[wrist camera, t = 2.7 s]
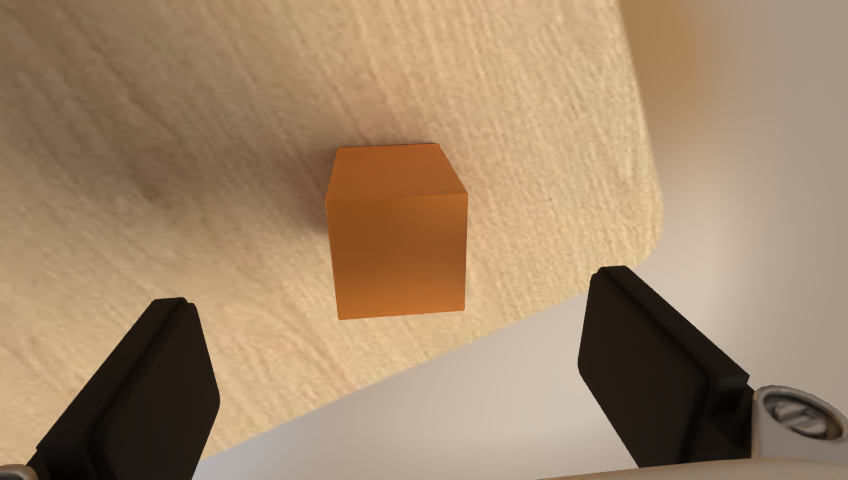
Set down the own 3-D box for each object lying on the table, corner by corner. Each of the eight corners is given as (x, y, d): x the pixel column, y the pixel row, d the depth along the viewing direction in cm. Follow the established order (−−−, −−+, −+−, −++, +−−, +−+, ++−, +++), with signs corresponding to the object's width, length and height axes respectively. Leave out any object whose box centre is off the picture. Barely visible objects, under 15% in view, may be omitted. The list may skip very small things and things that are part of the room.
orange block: (438, 143, 18) (468, 192, 13) (438, 233, 20) (464, 311, 14) (337, 147, 18) (324, 200, 12) (346, 239, 19) (338, 320, 14)
